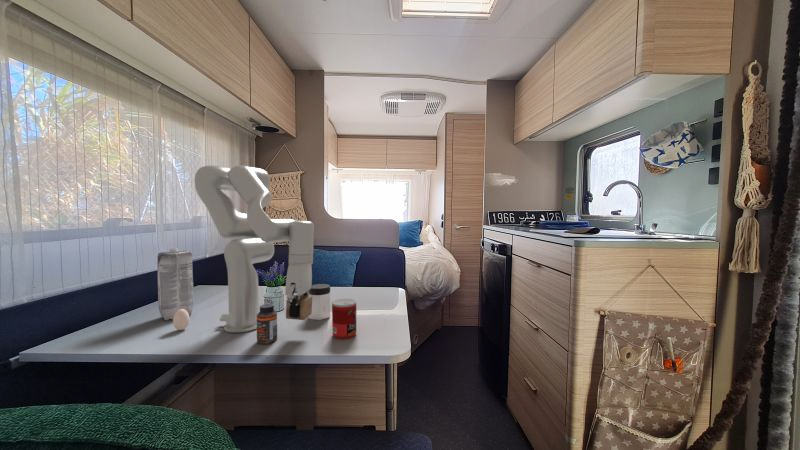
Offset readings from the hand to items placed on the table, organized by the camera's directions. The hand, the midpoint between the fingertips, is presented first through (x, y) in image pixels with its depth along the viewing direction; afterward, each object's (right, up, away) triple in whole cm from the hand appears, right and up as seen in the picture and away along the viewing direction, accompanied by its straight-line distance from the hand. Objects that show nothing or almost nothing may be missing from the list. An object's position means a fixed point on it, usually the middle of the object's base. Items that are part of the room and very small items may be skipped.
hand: (299, 313), depth 98 cm
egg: (-43, -8, +6) cm, 44 cm away
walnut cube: (0, -1, 0) cm, 1 cm away
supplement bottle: (-9, -8, -3) cm, 13 cm away
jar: (+2, -7, +20) cm, 21 cm away
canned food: (+15, -8, +1) cm, 17 cm away
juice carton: (-56, -8, +21) cm, 60 cm away
